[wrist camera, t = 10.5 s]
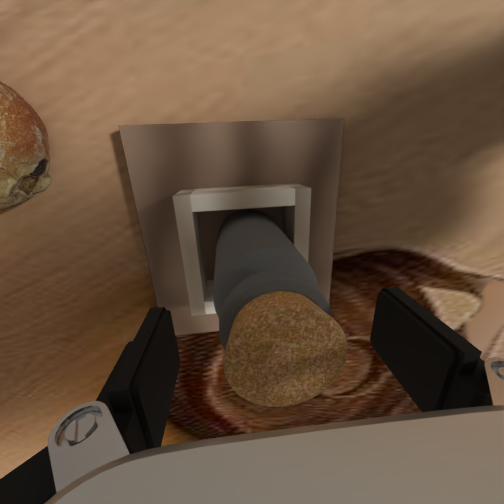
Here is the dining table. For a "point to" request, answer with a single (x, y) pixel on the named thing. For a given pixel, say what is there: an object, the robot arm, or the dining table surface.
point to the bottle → (272, 315)
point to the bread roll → (21, 150)
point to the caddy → (229, 199)
